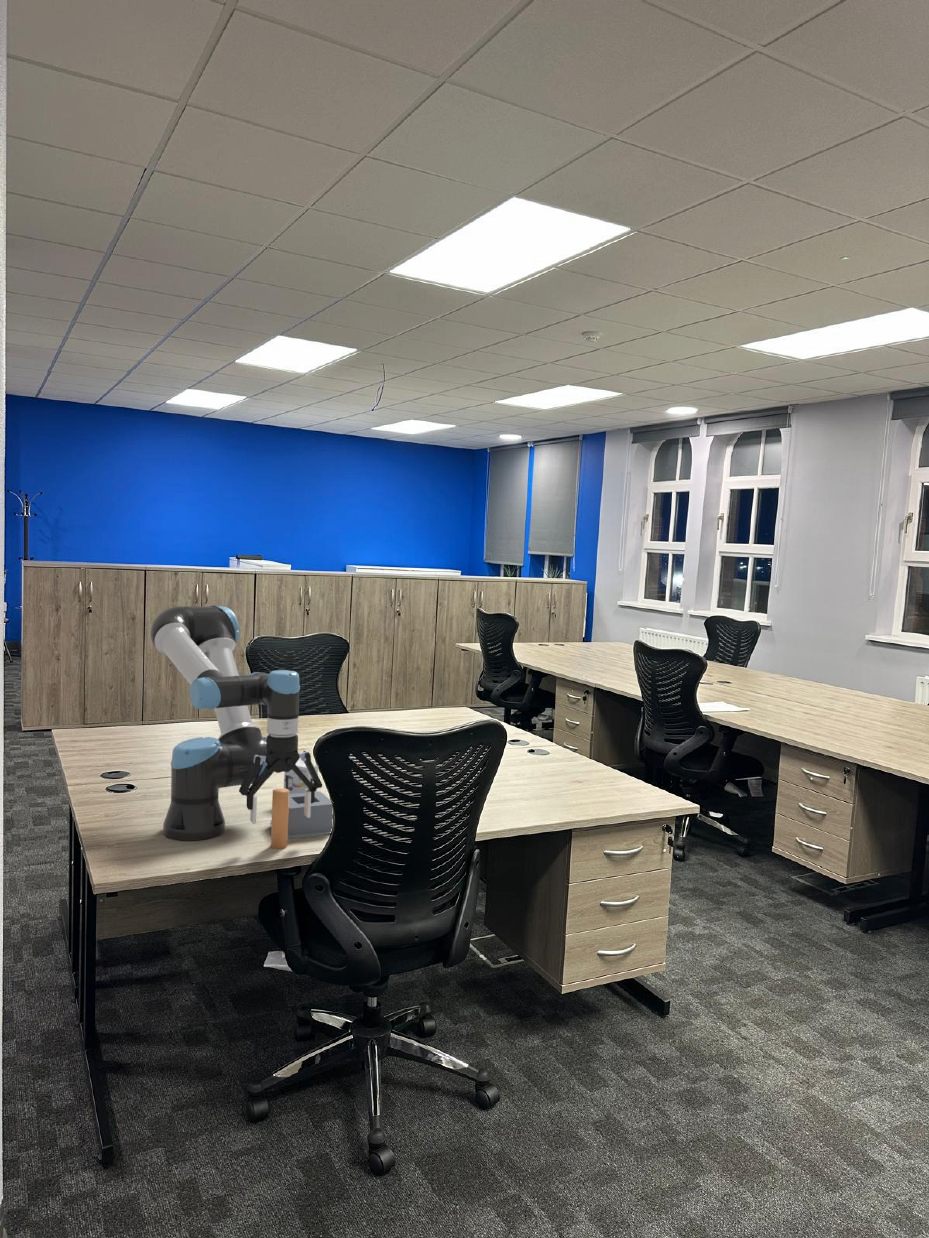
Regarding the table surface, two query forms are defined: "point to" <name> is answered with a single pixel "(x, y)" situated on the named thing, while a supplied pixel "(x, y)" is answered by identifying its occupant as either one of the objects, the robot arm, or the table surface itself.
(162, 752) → the table surface
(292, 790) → the ink box
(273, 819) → the dowel
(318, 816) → the socket block
